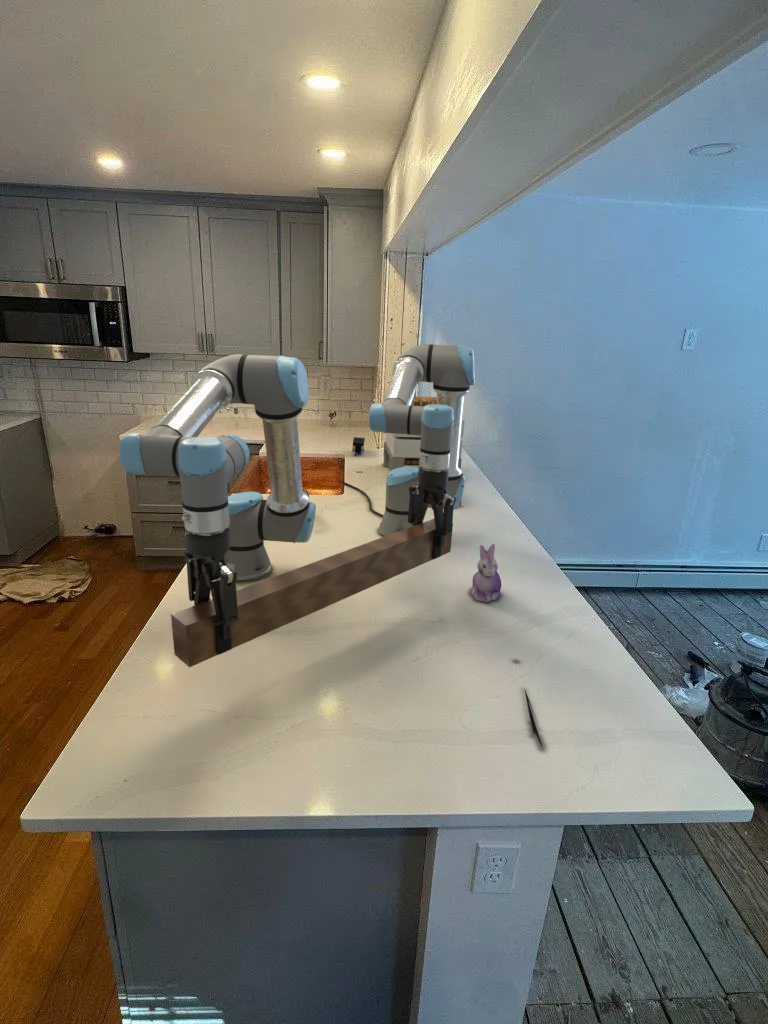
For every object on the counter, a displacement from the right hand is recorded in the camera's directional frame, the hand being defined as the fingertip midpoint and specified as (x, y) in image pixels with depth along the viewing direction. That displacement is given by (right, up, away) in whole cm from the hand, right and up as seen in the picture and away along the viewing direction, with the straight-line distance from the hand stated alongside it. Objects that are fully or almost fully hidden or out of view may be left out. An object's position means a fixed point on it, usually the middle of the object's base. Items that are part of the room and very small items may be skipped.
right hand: (427, 553), depth 149 cm
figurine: (+17, -13, +11) cm, 24 cm away
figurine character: (-25, +42, +158) cm, 165 cm away
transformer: (+6, +30, +126) cm, 130 cm away
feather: (+18, -28, -32) cm, 46 cm away
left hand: (-43, -14, -43) cm, 62 cm away
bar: (-21, -7, -21) cm, 31 cm away
